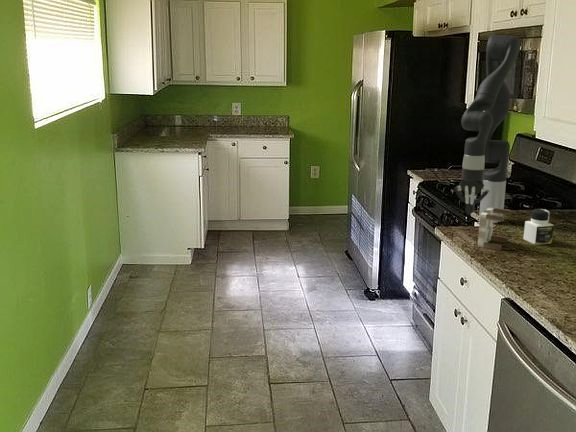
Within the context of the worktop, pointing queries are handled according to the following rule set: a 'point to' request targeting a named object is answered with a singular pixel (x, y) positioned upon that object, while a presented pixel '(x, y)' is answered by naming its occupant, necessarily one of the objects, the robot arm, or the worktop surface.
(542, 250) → the worktop surface
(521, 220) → the worktop surface
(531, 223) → the medicine bottle
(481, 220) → the footstool
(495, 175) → the robot arm
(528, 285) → the worktop surface
